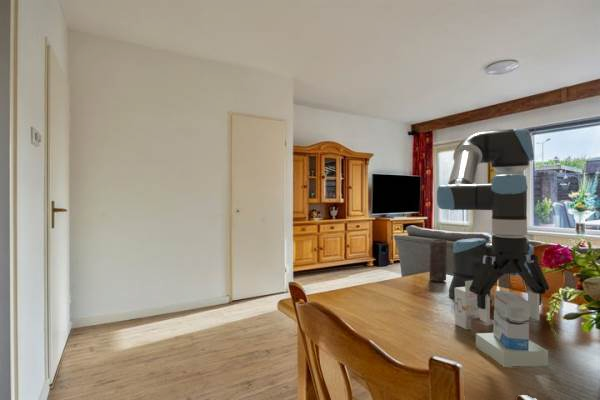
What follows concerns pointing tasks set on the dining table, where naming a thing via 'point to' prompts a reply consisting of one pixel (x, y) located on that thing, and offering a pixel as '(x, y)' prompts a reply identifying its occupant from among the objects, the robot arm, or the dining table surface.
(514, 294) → the ink box
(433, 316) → the dining table surface
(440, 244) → the dark brown tall block
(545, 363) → the pedestal block
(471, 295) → the ink cartridge box
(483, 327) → the walnut cube
